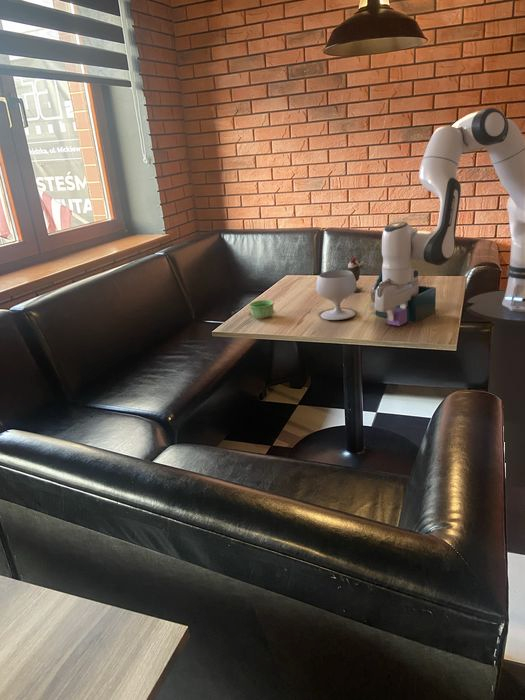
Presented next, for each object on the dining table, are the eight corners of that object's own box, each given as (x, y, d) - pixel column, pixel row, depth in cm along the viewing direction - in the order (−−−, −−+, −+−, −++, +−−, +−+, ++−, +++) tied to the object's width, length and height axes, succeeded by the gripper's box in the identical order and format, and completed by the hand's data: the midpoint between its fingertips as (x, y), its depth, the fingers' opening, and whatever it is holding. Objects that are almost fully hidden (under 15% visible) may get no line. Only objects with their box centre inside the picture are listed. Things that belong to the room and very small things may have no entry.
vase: (388, 305, 195) (387, 282, 192) (369, 305, 197) (368, 282, 194) (390, 300, 201) (390, 277, 198) (372, 300, 203) (371, 277, 200)
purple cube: (406, 322, 173) (406, 309, 172) (399, 325, 170) (399, 312, 169) (395, 320, 176) (394, 307, 175) (387, 323, 173) (387, 310, 172)
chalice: (326, 309, 198) (324, 269, 193) (363, 310, 191) (361, 269, 186) (312, 320, 187) (308, 278, 181) (350, 322, 180) (348, 279, 175)
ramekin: (278, 311, 200) (277, 299, 199) (269, 318, 193) (268, 307, 191) (256, 310, 204) (255, 299, 202) (246, 318, 196) (245, 306, 195)
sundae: (350, 293, 215) (348, 256, 209) (344, 290, 221) (342, 254, 215) (365, 290, 216) (364, 253, 211) (358, 287, 222) (357, 251, 217)
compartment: (435, 312, 183) (436, 287, 180) (415, 322, 175) (416, 296, 172) (395, 306, 193) (395, 282, 190) (375, 315, 186) (375, 290, 182)
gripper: (386, 284, 159) (387, 328, 164) (422, 269, 172) (422, 310, 177) (368, 282, 163) (370, 325, 168) (405, 267, 176) (405, 308, 181)
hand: (397, 317), depth 173 cm, fingers closed on purple cube, 4 cm apart
